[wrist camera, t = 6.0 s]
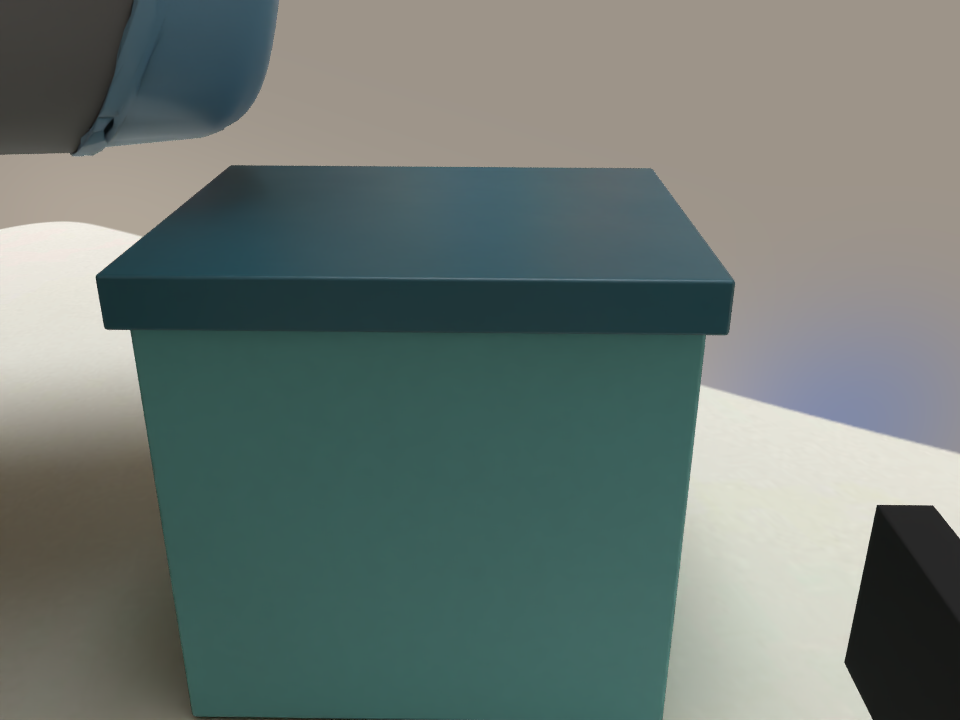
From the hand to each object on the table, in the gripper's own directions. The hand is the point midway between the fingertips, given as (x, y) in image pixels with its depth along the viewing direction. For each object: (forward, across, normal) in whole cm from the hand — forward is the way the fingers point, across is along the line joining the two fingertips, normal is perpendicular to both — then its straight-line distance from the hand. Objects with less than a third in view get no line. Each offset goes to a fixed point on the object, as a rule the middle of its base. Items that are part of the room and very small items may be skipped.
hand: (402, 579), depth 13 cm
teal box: (+8, 0, -7) cm, 11 cm away
